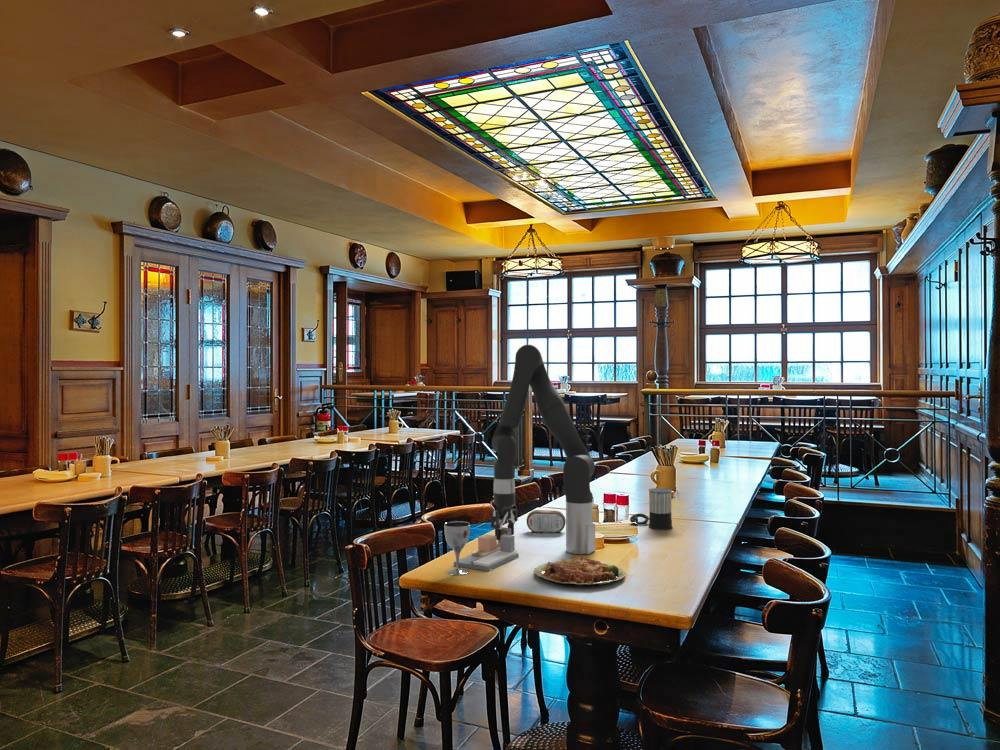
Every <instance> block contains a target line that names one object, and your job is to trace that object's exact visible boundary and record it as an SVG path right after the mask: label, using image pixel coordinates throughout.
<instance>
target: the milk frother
mask: <svg viewBox="0 0 1000 750" xmlns="http://www.w3.org/2000/svg"><path fill="white" fill-rule="evenodd" d="M672 492H673V490H672V489H671V488H664V487H663V488H662V487H654V488H649V489H648V495H649V496H648V498H649V502H648V505H649V509H648V510H649V516H648V515H647V514H644V513H635V514H633V515H631V516H630V518H629V522H630V521H631V522H636V523H637V524H638V525H637V526H643V525H646V524H647V523H648V522H649V523H648V527H649V528H651V529H654V530H670V529H672V528H673V524H672V523H673V522H672V521H673V520H672V516H673V515H672V514H673V513H672ZM639 518H643V519H645V520H642V521H639ZM631 522H630V523H631Z"/></svg>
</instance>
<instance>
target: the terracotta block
mask: <svg viewBox="0 0 1000 750" xmlns="http://www.w3.org/2000/svg"><path fill="white" fill-rule="evenodd" d="M497 542H498V540H497V536H495V535H492V534H483V535H481V536H478V537H477V545H478V546H477V548H478V549H477V550H478V551H484V552H491V551H494V550H496V549H497Z"/></svg>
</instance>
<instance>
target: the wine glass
mask: <svg viewBox="0 0 1000 750" xmlns="http://www.w3.org/2000/svg"><path fill="white" fill-rule="evenodd" d="M443 525H444V526H443V527H444V536H445V541H446V543H447V545H448V546H449V547H450V548H451V550H452V551H453V552H454V554H455V555H454V556H455V561H456V566H455V568H452V569H449V570H446V572H447V573H448V574H453V575H452V576H454V575H460V576H465V575H468V574H469V573H470V571H469V569H465V568H460V566H459V559H460V554H461V552H462V551H463V549H464V547H465V546H466V545H467V543H468V542H469V539H470V533H471V524H470V522H469V521H462V520H460V521H459V520H453V521H448V522H445V523H444V524H443ZM447 573H446V574H447ZM467 573H468V574H467ZM448 574H447V575H448ZM464 574H465V575H464Z"/></svg>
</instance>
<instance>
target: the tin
mask: <svg viewBox="0 0 1000 750" xmlns="http://www.w3.org/2000/svg"><path fill="white" fill-rule="evenodd" d="M526 525H527V527H528V529H529V530H530V532H532V533H536V532H558V533H560V532H562V531H563V530H564V528H566V516H565V515H564V514H563V513H562V512H561V511H560V510H559V511H558V510H549V509H548V510H545V509H544V510H543V509H537V510H536V509H535V510H532V511H530V512H529V513H528V515H527V517H526Z"/></svg>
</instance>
